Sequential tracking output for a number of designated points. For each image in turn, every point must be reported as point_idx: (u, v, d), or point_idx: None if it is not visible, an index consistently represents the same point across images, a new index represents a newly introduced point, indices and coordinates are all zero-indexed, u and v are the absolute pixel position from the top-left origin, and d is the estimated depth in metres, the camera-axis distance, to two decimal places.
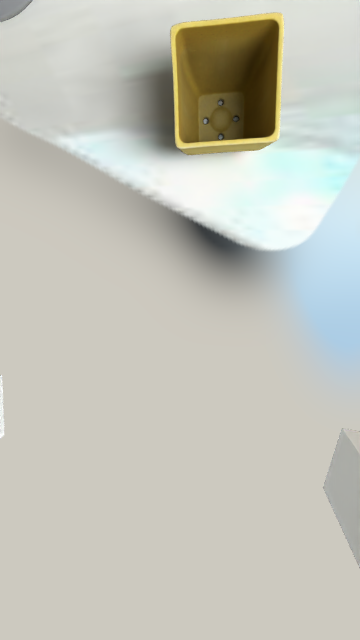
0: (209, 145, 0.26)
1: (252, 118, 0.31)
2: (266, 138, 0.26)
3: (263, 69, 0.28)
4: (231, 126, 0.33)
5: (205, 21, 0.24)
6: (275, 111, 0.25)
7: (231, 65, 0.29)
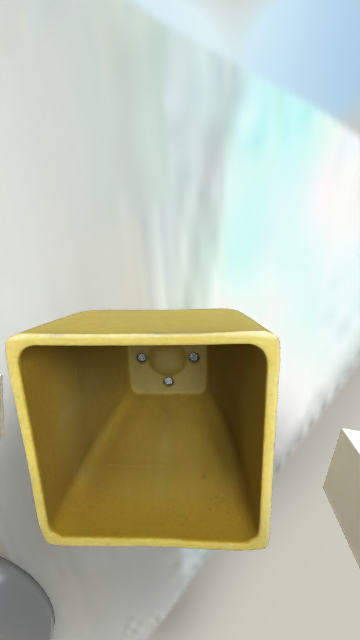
0: (270, 488, 0.11)
1: None
2: (271, 364, 0.10)
3: None
4: None
5: (33, 489, 0.11)
6: (208, 344, 0.10)
7: (93, 366, 0.16)
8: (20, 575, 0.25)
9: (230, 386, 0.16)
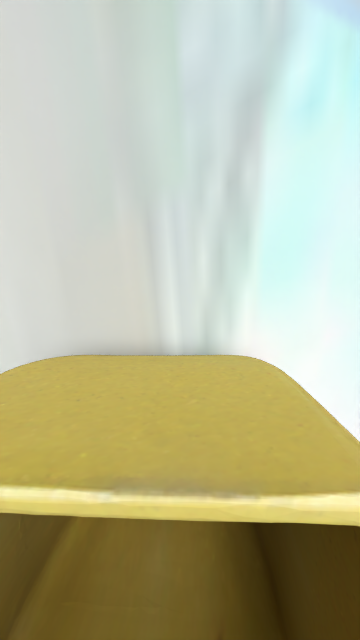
0: None
1: None
2: None
3: None
4: None
5: None
6: (248, 522, 0.04)
7: None
8: None
9: None
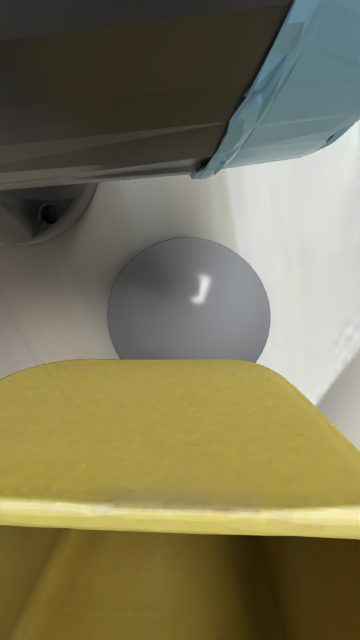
0: None
1: None
2: None
3: None
4: None
5: None
6: (247, 534, 0.04)
7: None
8: None
9: None
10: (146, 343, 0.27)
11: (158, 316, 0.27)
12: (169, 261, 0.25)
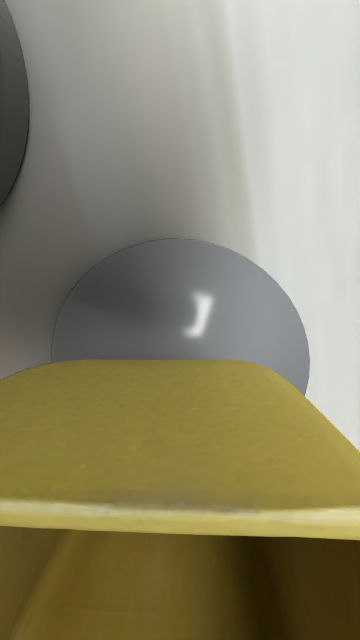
0: None
1: None
2: None
3: None
4: None
5: None
6: (248, 535, 0.04)
7: None
8: (276, 282, 0.15)
9: None
10: None
11: None
12: (146, 277, 0.15)
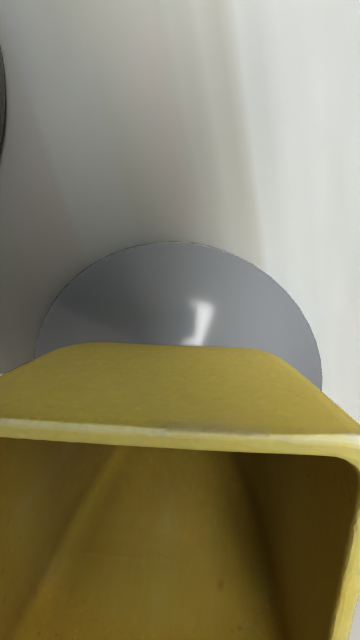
0: None
1: None
2: None
3: None
4: None
5: None
6: (260, 452, 0.05)
7: None
8: None
9: (260, 452, 0.12)
10: None
11: None
12: (138, 285, 0.14)
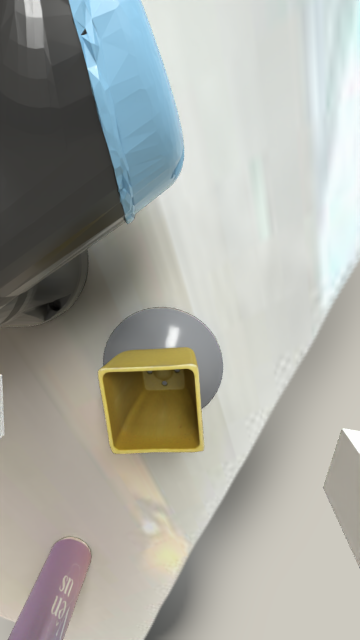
0: (201, 424, 0.27)
1: None
2: (195, 376, 0.26)
3: None
4: None
5: (107, 429, 0.28)
6: (172, 369, 0.26)
7: (126, 377, 0.33)
8: (202, 323, 0.34)
9: (193, 384, 0.32)
10: None
11: None
12: (144, 326, 0.35)
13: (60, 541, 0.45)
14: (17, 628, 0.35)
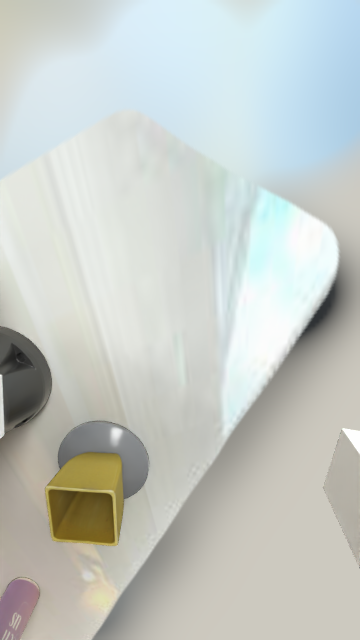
0: (116, 528, 0.39)
1: None
2: (113, 498, 0.37)
3: None
4: None
5: (50, 525, 0.39)
6: (97, 492, 0.37)
7: None
8: (134, 436, 0.46)
9: None
10: None
11: None
12: (90, 434, 0.46)
13: (15, 581, 0.56)
14: None
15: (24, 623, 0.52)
